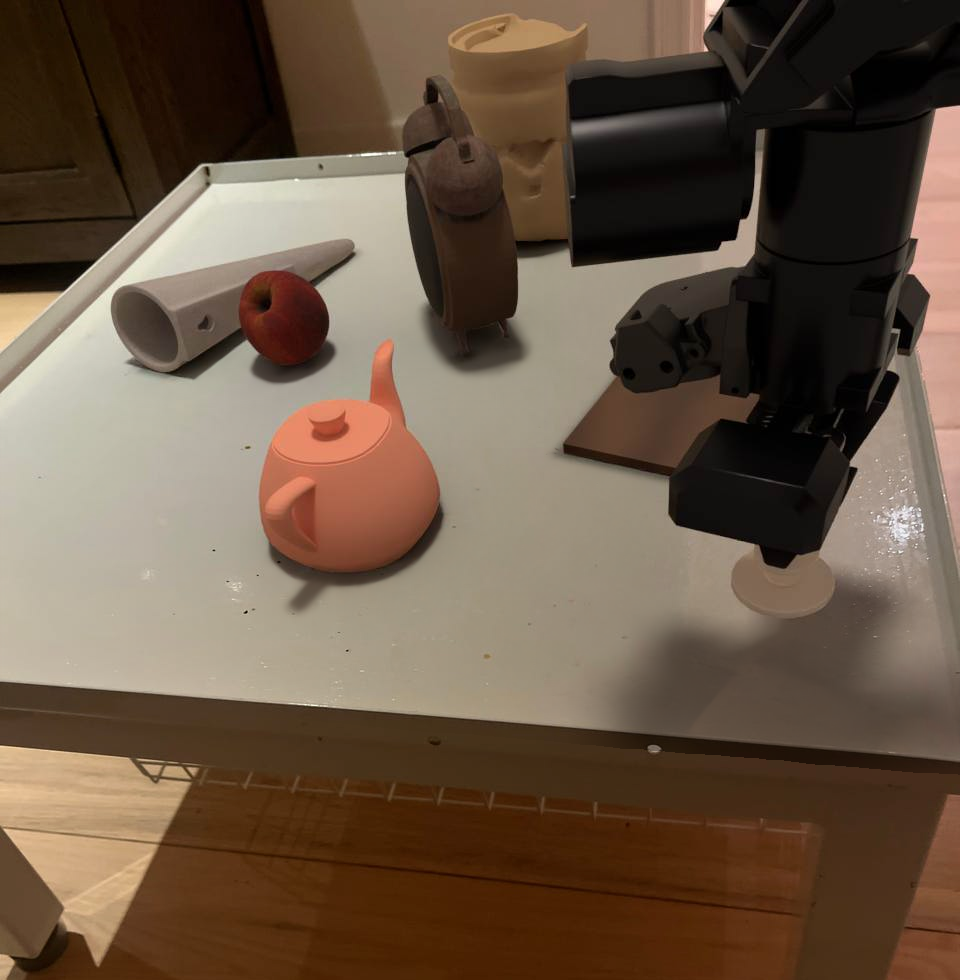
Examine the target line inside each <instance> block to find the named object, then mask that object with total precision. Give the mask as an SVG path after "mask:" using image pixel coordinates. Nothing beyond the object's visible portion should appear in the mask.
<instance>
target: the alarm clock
mask: <svg viewBox="0 0 960 980" xmlns="http://www.w3.org/2000/svg"><path fill="white" fill-rule="evenodd" d="M439 95H440V97H441V99H442V101H439ZM422 99H423V104H424V105H422V106H420V107H418V108H416V109H415V110H414V111H412V112H410V114H409V115H408V117H407V118H406V121H405V122H404V124H403V127H402V134H401V140H402V150H403V156H404V158H407V159H408V160H407V166H406V168H405V171H404V192H405V193H404V194H405V202H406V217H407V225H408V231H409V236H410V242H411V247H412V251H413V257H414V262H415V264H416V268H417V272H418V276H419V279H420V283H421V286H422V287H423V291H424V294H425V297H426V299H427V301H428V303H429V305H430V307H431V309H432V311H433V314H434V316H435V318H436V320H437V322H438V323H439V324H440V325H442V327H443V328H444V329H445V331H446V332H448V333H452V332H453V333H455V336H456V338H457V341H458V343H459V346H460V349H461V355H462V356H463V357H468V355H469V353H470V351H469V349H468V348H467V347H468V346H467V336H466V331H467V330H476V329H477V330H478V329H481V328H485V327H489V326H491V325H494V324H497V323H498V325H499V327H500V329H501V331H502V332H503V338H504V339H505V340H509V339H510V338H511V332H509V329H508V325H507V320H508V319H510V318H511V319H512V318H513V317H514V316H515V315H516V312H517V309H518V302H519V266H518V264H519V262H518V251H517V244H516V241H515V236H514V230H513V224H512V220H511V215H510V211H509V207H508V203H507V200H506V196H505V193H504V189H503V187H502V186H503V175H502V170H501V166H500V162H499V159H498V156H497V154H496V153H495V151H494V150H493V149H492V147H491V146H490V145H489V144H488V143H486V142H485V141H483V140H482V139H480V138H478V137H475V136H474V133H473V129H472V127H471V124H470V122H469V119H468V118H467V116H466V114H465V112H464V111H463V110H462V109H461V107H460V104H459V101H458V98H457V96H456V94H455V92H454V90H453V85H451V83H450V82H449V81H448V80H447V79H446V78H445V76H443V75H441V74H437V75H432V76H428V77H426V79H425V91H424V92H423V96H422Z"/></svg>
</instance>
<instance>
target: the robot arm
mask: <svg viewBox="0 0 960 980" xmlns="http://www.w3.org/2000/svg"><path fill="white" fill-rule="evenodd" d="M702 40H703V44H704V46H705V47H706V51H705V50H704V51H698V52H691V53H684V54H676V55H669V56H661V57H653V58H646V59H638V60H630V61H629V60H628V61H620V60H613V59H605V58H604V59H603V58H602V59H590V60H587V61H582V62H574V63H570V64H569V66H568V67H567V68H566V70H565V78H566V97H567V101H566V134H567V143H562V158H563V175H564V191H565V205H566V218H567V230H568V239H567V241H568V249H569V250H568V251H569V260H570V266H571V268H579V267H589V266H595V265H596V266H597V265H598V266H599V265H605V264H612V263H613V264H614V263H622V262H632V261H640V260H648V259H659V258H668V257H676V256H683V255H694V254H702V253H703V254H704V253H710V252H717V251H719V250H720V248H721V247H722V244H723V243H727V242H733V241H737V238H738V234H739V229H740V223H741V221H742V220H747V219H748V218H749V216H750V214H751V210H752V207H753V206H752V205H753V200H754V194H755V184H756V146H757V131H760V130H764V137H763V146H762V147H763V148H762V159H761V171H760V184H759V197H758V206H757V207H758V208H757V217H756V218H757V219H756V230H755V232H756V234H755V241H754V253H753V254H752V255H751V258H750V259H748V262H747V263H746V264H745V265H743V266H738V267H736V266H727V267H722V268H718V269H714V270H710V271H707V272H702V273H698V274H693V275H689V276H685V277H681V278H677V279H672V280H669V281H665V282H662V283H659V284H656V285H654V286H652V287H650V288H649V289H647V290H646V291H645V292H642V294H641V295H640V297H638V299H637V300H636V301H635V302H634V303H633V305H632V306H631V307H630V308H629V309H628V311H627V312H626V313H625V314H624V315H623V316H622V318H620V320H619V321H618V323H616V324H615V326H614V331H615V333H614V335H613V336H612V337H611V338H610V339H609V343H610V346H611V349H612V352H613V354H612V359H611V360H609V365H608V366H609V370H610V372H611V373H612V375H614V376H615V377H617V376H618V377H620V379H621V382H622V384H623V386H624V387H625V388H626V389H628V390H630V391H631V392H633V393H650V392H656V391H658V390H663V389H669V388H675V387H677V386H678V385H679V384H680V383H686V382H692V381H699V380H705V379H710V378H713V377H716V376H718V375H720V387H719V394H723V395H728V396H734V397H740V398H747V397H748V396H749V395H750V393H753V394H759V400H758V401H757V403H756V404H755V406H754V408H753V409H752V411H751V413H750V414H749V416H748V417H747V419H746V423H743V422H738V421H733V420H727V419H722V418H721V419H720V420H718V421H717V422H715V423H714V424H712V425H711V426H709V427H707V428H706V429H704V430H703V431H701V432H700V433H699V434H698V435H697V437H696V438H695V440H694V441H693V443H692V444H691V446H690V447H689V449H688V451H687V452H686V454H685V455H684V457H683V458H682V460H681V461H680V463H679V464H678V466H677V467H676V469H675V470H674V472H673V473H672V475H671V476H670V475H669V478H668V507H667V510H668V511H667V515H668V517H669V518H670V519H671V521H672V522H673V524H674V525H675V527H681V528H683V529H689V530H693V531H697V532H701V533H706V534H710V535H714V536H717V537H723V538H727V539H730V540H735V541H740V542H742V543H747V544H751V545H754V546H755V545H759V548H760V551H761V554H762V558H763V561H764V563H765V564H766V565H768V566H772V567H776V568H780V569H786V568H787V567H788V566H789V565H790V563H791V562H792V561H793V560H794V558H795V557H796V556H797V555H805V554H808V553H812V552H815V551H819V552H820V551H821V549H822V547H823V545H824V542H825V541H826V538H827V536H828V534H829V532H830V530H831V527H832V525H833V524H834V521H835V519H836V517H837V515H838V512H839V510H840V507H841V506H842V504H843V503H844V501H845V498H846V497H847V494H848V492H849V490H850V488H851V486H852V483H853V481H854V479H855V477H856V476H857V473H858V471H859V467H856V466H851V461H852V460H853V459H854V457H855V456H856V454H857V452H858V451H859V450H860V448H861V447H862V445H863V443H864V442H865V441H866V440H867V438H868V437H869V436H870V434H871V432H872V431H873V429H874V427H876V425H877V423H878V422H879V420H880V419H881V418H882V416H883V414H884V413H885V411H886V410H887V409H888V407H889V405H890V402H891V400H892V398H893V396H894V394H895V392H896V389H897V387H898V385H899V383H900V381H901V380H900V379H901V377H900V375H899V374H898V373H897V372H895V371H892V370H888V368H890V367H889V366H890V365H891V362H892V361H893V358H894V356H895V354H896V353H897V355H898V356H905V357H911V356H912V355H913V352H914V349H915V347H916V346H917V343H918V341H919V339H920V337H921V335H922V333H923V329H924V325H925V321H926V317H927V313H928V308H929V304H930V299H931V294H930V293H929V291H928V290H927V289H926V288H925V286H924V285H923V284H922V283H921V281H920V280H919V278H918V277H917V276H916V274H914V273H913V274H912V273H909V272H910V270H911V268H912V267H913V264H914V263H915V262H914V261H915V256H916V252H917V246H918V242H919V238H916V237H911V236H912V230H913V226H914V221H915V216H916V211H917V208H918V207H917V206H918V200H919V196H920V193H921V186H922V181H923V176H924V171H925V166H926V162H927V157H928V152H929V151H928V150H929V147H930V142H931V137H932V131H933V127H934V123H935V122H934V121H935V117H936V111H937V110H938V109H945V108H950V107H951V108H952V107H960V0H724V1H722V4H721V5H720V7H719V8H718V10H717V11H716V12H715V15H714V16H713V17H712V19H711V21H710V22H709V24H708V25H707V27H706V29H704V32H703V35H702ZM893 330H899V333H897V332H892V331H893ZM810 421H811V423H810ZM807 426H808V430H807V431H809V432H811V434H810V433H804V432H805V430H806V428H807Z"/></svg>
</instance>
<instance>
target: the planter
mask: <svg viewBox="0 0 960 980" xmlns="http://www.w3.org/2000/svg"><path fill="white" fill-rule="evenodd" d="M355 245H356V244H355V242H354V240H352V239H350V238H339V239H333V240H327V241H323V242H318V243H313V244H308V245H304V246H299V247H294V248H289V249H285V250H281V251H276V252H272V253H267V254H262V255H258V256H253V257H249V258H245V259H240V260H236V261H231V262H226V263H221V264H217V265H212V266H208V267H203V268H199V269H194V270H190V271H185V272H181V273H176V274H172V275H165V276H160V277H156V278H152V279H147V280H143V281H139V282H134V283H130V284H125V285H122V286H119V288H117V289H116V290H115V291H114V293H113V295H112V297H111V301H110V315H111V320H112V324H113V327H114V329H115V332H116V334H117V336H118V338H119V340H120V341H121V343H122V344H123V346H124V347H125V348H126V350H127V351H128V352H129V353H130V354H131V355H132V356H133V357H134V358H135V359H136V361H138V362H140V363H141V364H142V365H143V366H145V367H146V368H149V369H151V370H153V371H155V372H160V373H170V372H173V371H175V370H176V369H178V368H179V367H181V366H183V365H185V364H186V363H188V362H190V361H192V360H193V359H195V358H197V357H198V356H199V355H201V354H203V353H204V352H206V351H207V350H208V349H210V348H212V347H214V346H215V345H216V344H218V343H220V342H221V341H223V340H224V339H226V338H227V337H229V336H230V335H231V334H233V333H235V332H236V331H237V330H239V329H242V328H241V325H240V320H239V312H238V309H239V303H240V299H241V295H242V292H243V289H244V287H245V285H246V284H247V282H248V281H249V280H250V279H251V278H252V277H253V276H255V275H257V274H258V273H261V272H264V271H272V270H281V271H288V272H291V273H294V274H296V275H298V276H300V277H302V278H304V279H305V280H307V281H308V282H309V283H311V281H312V280H314V279H316V278H317V277H319V276H321V275H322V274H324V273H325V272H326V271H329V270H330V269H331V268H332V267H334V266H337V265H338V264H340V263H341V262H342V261H344V260H345V259H347V258H348V257H349V256H350V255H351V254H352V253H353V252H354V251H355V248H356V246H355Z"/></svg>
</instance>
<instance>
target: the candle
mask: <svg viewBox="0 0 960 980" xmlns="http://www.w3.org/2000/svg"><path fill="white" fill-rule="evenodd" d="M810 423H811V421H810ZM807 430H808V426H807V428H806V430H805V432H804V433H810V434H811V432H809V431H807ZM835 580H836V579H835V575H834V572H833V570H832V568H831V567H830V566H829V565H828V563H827V562H826V561H825V560H824V559H823V558H821V557H820V550H819V551H815V552H812V553H808V554H805V555H797V556H796V557H795V558H794V560H793V561H792V562H791V563H790V565H789V566H788V567H787V568H786V569H780V568H776V567H772V566H768V565H766V564H765V563H764V561H763V558H762V554H761V551H760V548H759V545H755V544H754V545H753V549H752V550H751V551H748V552H746V554H743V555H742V556H740V558H739V559H738V560H737V561H736V562H735V563H734V566H733V567H732V570H731V575H730V587H731V590H732V592H733V595H734V596H735V598H736V599H737V600H738V601H739V602H740V603H741V604H743V605H744V606H745V607H746V608H748V609H749V610H750V611H753V612H756V613H757V614H760V615H762V616H766V617H771V618H775V619H789V620H790V619H796V618H803V617H807V616H809V615H811V614H815V613H817V612H818V611H820V610H821V609H823V608H824V607H826V605H828V603H829V602H830V600H832V597H833V594H834V591H835V587H836V581H835Z"/></svg>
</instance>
